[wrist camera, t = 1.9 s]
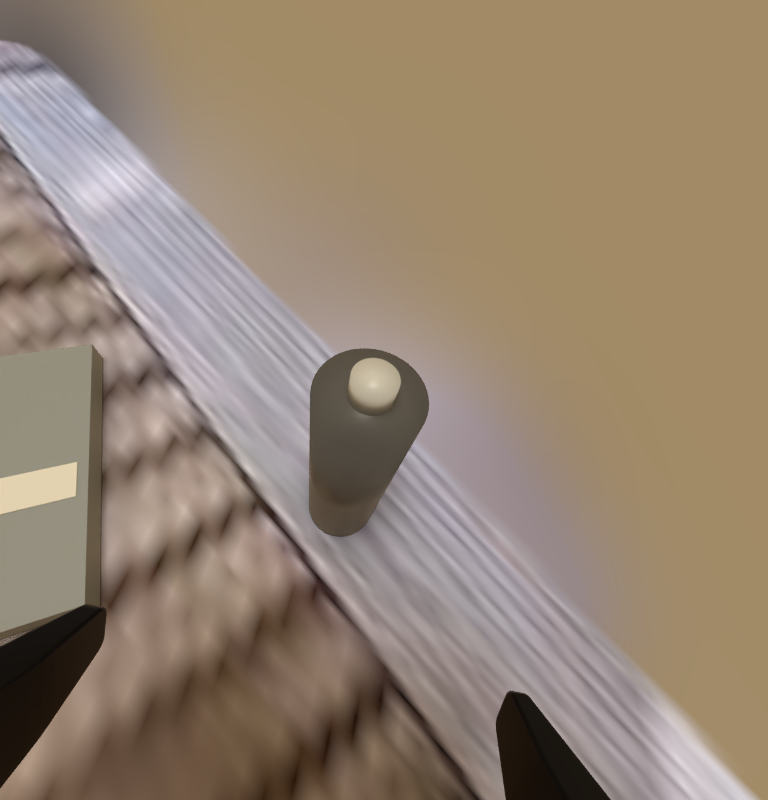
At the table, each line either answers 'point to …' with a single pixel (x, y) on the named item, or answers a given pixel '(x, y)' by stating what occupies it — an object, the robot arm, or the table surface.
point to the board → (49, 485)
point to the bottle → (359, 434)
